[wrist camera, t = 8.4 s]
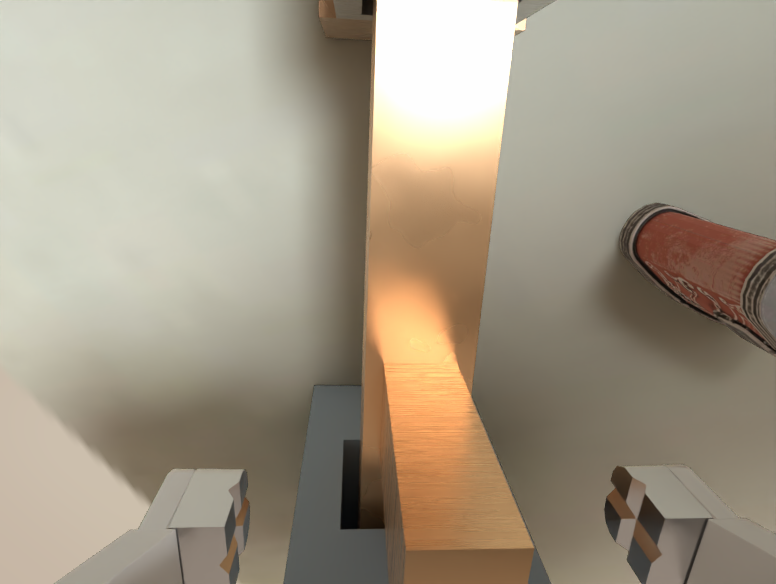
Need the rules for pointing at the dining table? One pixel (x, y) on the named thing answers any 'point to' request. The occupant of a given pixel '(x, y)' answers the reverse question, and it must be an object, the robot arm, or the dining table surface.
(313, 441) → the socket block
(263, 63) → the dining table surface
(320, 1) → the sleeve
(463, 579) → the stepped wooden block
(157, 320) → the dining table surface
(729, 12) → the dining table surface
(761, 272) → the lighter
